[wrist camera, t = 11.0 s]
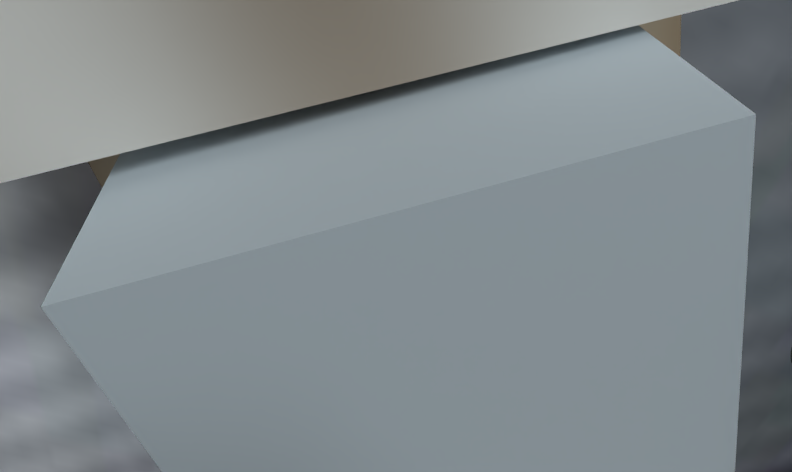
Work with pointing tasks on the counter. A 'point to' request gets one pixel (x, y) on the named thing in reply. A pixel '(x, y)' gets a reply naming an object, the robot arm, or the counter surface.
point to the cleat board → (250, 61)
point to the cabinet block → (433, 275)
